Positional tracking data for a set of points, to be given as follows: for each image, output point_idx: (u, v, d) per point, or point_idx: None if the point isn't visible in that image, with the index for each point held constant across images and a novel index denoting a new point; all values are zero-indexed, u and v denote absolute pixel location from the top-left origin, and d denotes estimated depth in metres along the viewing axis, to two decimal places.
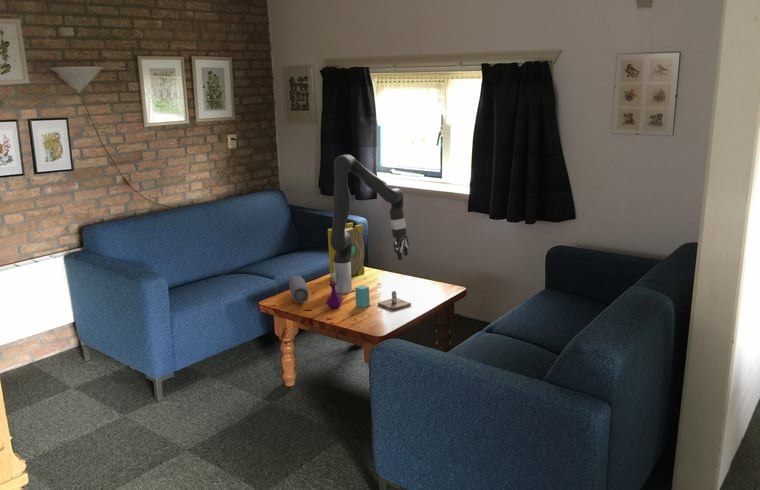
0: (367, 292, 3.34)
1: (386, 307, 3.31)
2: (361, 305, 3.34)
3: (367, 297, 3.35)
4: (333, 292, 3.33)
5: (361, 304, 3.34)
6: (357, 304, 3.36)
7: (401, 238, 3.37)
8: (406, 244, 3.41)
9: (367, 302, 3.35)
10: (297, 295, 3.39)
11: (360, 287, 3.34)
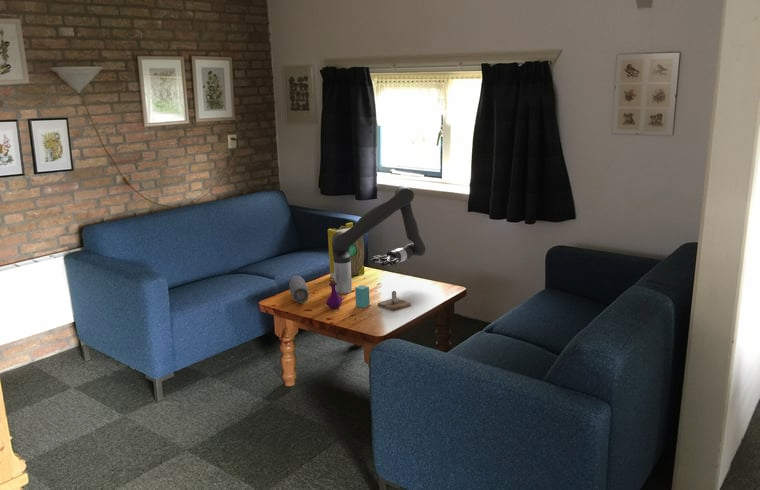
0: (367, 292, 3.34)
1: (386, 307, 3.31)
2: (361, 305, 3.34)
3: (367, 297, 3.35)
4: (333, 292, 3.33)
5: (361, 304, 3.34)
6: (357, 304, 3.36)
7: None
8: (380, 262, 3.46)
9: (367, 302, 3.35)
10: (297, 295, 3.39)
11: (360, 287, 3.34)
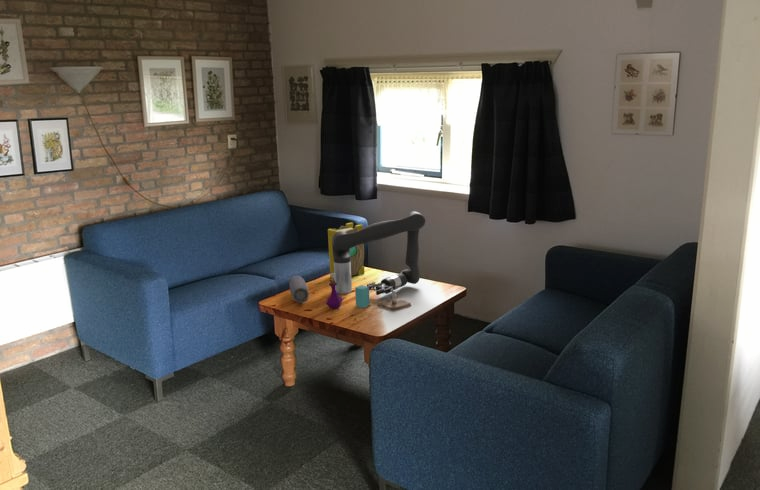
0: (367, 292, 3.34)
1: (386, 307, 3.31)
2: (361, 305, 3.34)
3: (367, 297, 3.35)
4: (333, 292, 3.33)
5: (361, 304, 3.34)
6: (357, 304, 3.36)
7: None
8: (374, 290, 3.46)
9: (367, 302, 3.35)
10: (297, 295, 3.39)
11: (360, 287, 3.34)
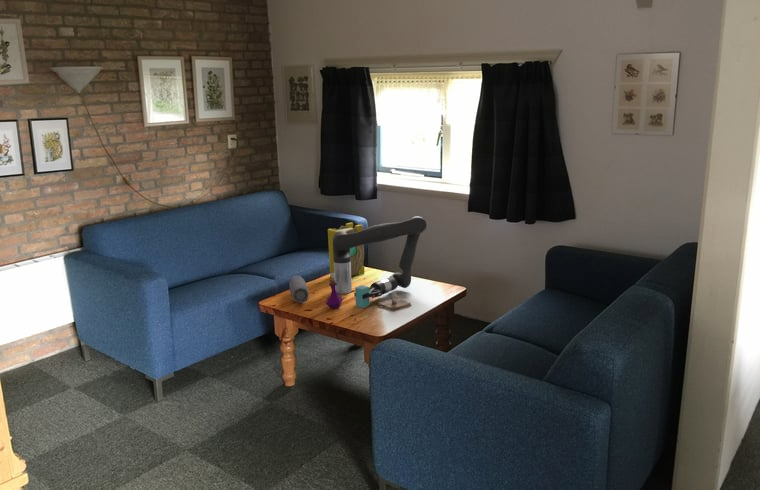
0: (367, 292, 3.34)
1: (386, 307, 3.31)
2: (361, 305, 3.34)
3: None
4: (333, 292, 3.33)
5: (361, 304, 3.34)
6: (357, 304, 3.36)
7: None
8: None
9: (367, 302, 3.35)
10: (297, 295, 3.39)
11: (360, 287, 3.34)
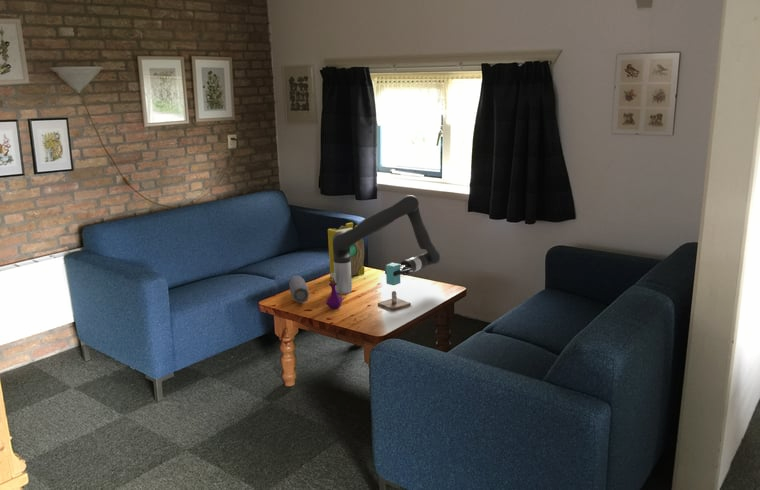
0: (398, 269, 3.30)
1: (386, 307, 3.31)
2: (392, 282, 3.29)
3: None
4: (333, 292, 3.33)
5: (392, 281, 3.29)
6: (388, 282, 3.31)
7: None
8: None
9: (398, 279, 3.31)
10: (297, 295, 3.39)
11: (391, 264, 3.29)
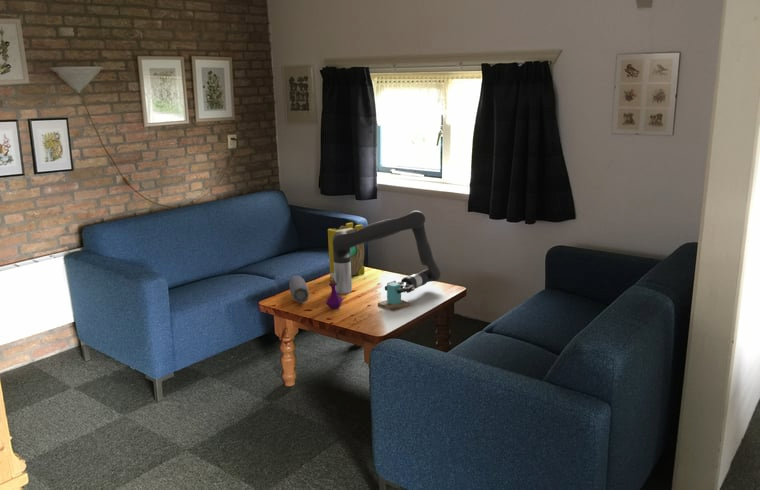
0: None
1: (386, 307, 3.31)
2: (393, 302, 3.32)
3: (399, 294, 3.33)
4: (333, 292, 3.33)
5: (393, 301, 3.32)
6: (389, 301, 3.34)
7: None
8: None
9: (399, 299, 3.34)
10: (297, 295, 3.39)
11: (392, 284, 3.32)
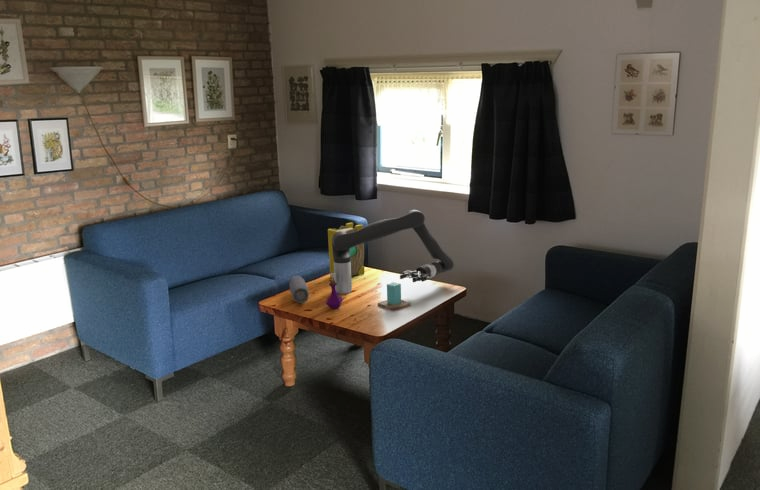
0: (399, 289, 3.32)
1: (386, 307, 3.31)
2: (393, 302, 3.32)
3: (399, 294, 3.33)
4: (333, 292, 3.33)
5: (393, 301, 3.32)
6: (389, 301, 3.34)
7: None
8: None
9: (399, 299, 3.34)
10: (297, 295, 3.39)
11: (392, 284, 3.32)
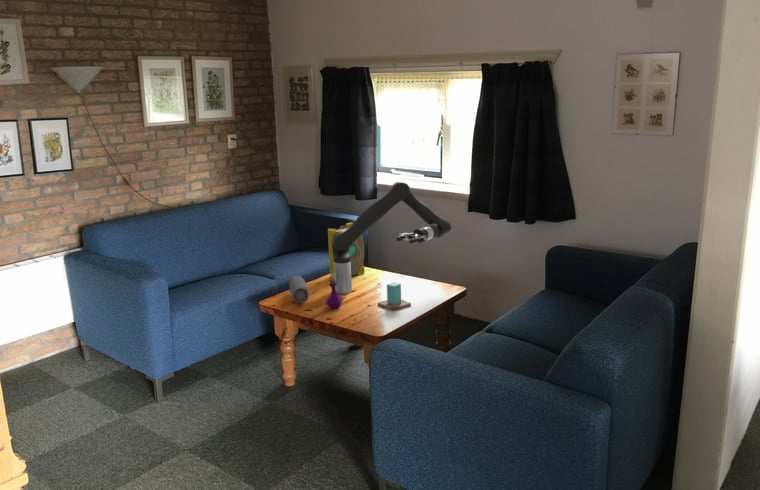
0: (399, 289, 3.32)
1: (386, 307, 3.31)
2: (393, 302, 3.32)
3: (399, 294, 3.33)
4: (333, 292, 3.33)
5: (393, 301, 3.32)
6: (389, 301, 3.34)
7: None
8: (407, 240, 3.43)
9: (399, 299, 3.34)
10: (297, 295, 3.39)
11: (392, 284, 3.32)
